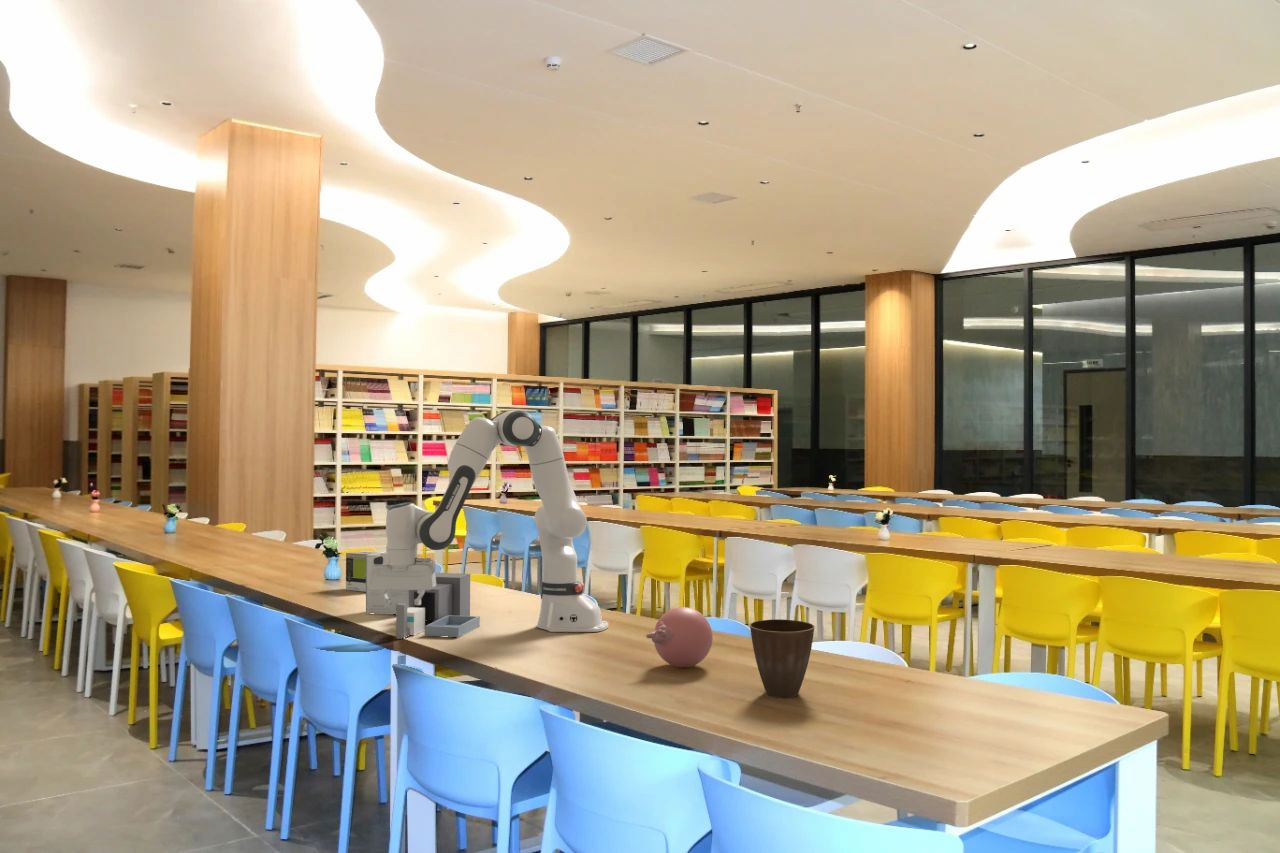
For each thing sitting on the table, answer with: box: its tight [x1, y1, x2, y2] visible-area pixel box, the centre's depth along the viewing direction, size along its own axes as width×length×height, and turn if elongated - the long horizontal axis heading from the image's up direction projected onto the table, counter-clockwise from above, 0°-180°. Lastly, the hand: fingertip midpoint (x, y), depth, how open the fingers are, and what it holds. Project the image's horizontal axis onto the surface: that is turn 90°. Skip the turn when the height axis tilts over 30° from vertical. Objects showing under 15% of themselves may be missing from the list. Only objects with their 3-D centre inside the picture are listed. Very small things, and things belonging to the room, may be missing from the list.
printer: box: [410, 572, 471, 622], centre depth 320 cm, size 14×22×14 cm, turn 170°
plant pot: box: [749, 618, 815, 699], centre depth 231 cm, size 15×15×16 cm
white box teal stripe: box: [395, 603, 426, 640], centre depth 298 cm, size 5×13×10 cm, turn 171°
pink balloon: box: [645, 606, 714, 668], centre depth 257 cm, size 15×20×15 cm
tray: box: [424, 615, 481, 638], centre depth 303 cm, size 11×19×3 cm, turn 170°
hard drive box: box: [365, 553, 410, 615], centre depth 335 cm, size 16×8×20 cm, turn 84°
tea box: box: [345, 550, 386, 593], centre depth 384 cm, size 15×10×15 cm
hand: (402, 604), depth 292 cm, fingers open, 8 cm apart
